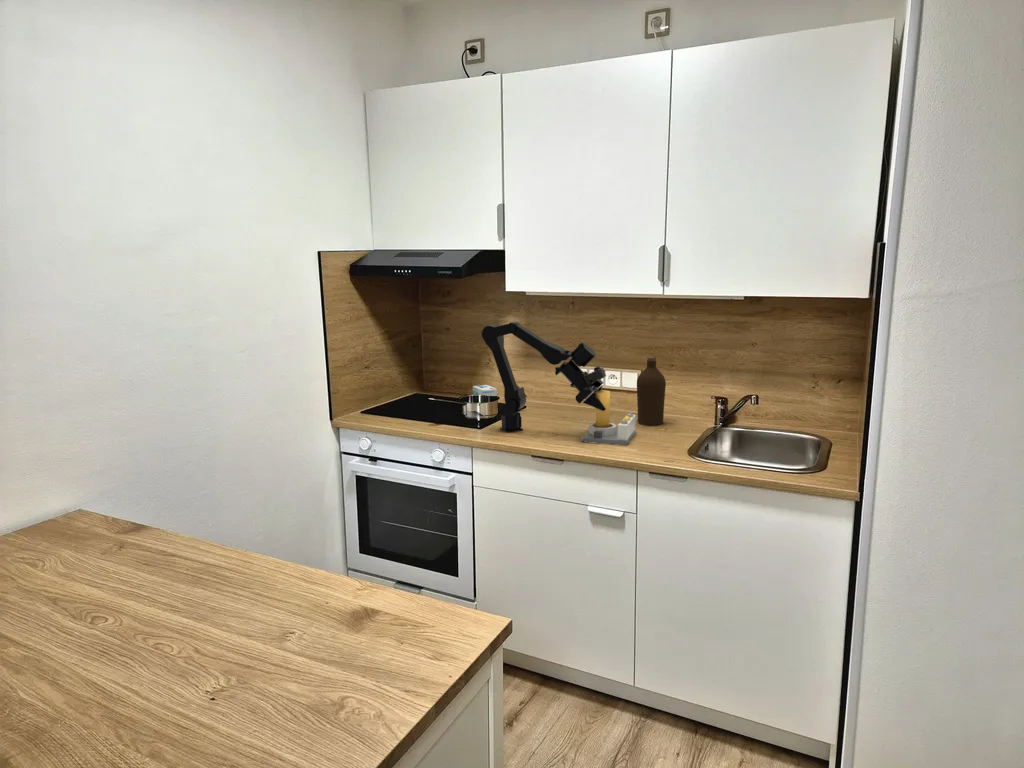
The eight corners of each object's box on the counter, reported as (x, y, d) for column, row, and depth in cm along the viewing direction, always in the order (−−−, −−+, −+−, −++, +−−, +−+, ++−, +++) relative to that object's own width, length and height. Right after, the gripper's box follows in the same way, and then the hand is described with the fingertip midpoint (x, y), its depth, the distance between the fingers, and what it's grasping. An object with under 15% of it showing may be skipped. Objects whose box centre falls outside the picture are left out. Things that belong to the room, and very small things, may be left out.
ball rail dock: (582, 442, 231) (582, 419, 230) (594, 429, 248) (594, 408, 246) (626, 445, 226) (626, 422, 224) (635, 432, 242) (636, 410, 241)
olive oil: (652, 427, 249) (653, 360, 244) (630, 422, 257) (631, 357, 252) (670, 422, 255) (672, 356, 251) (648, 418, 263) (649, 354, 259)
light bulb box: (472, 411, 281) (472, 385, 279) (487, 409, 283) (487, 384, 281) (482, 416, 271) (482, 390, 269) (498, 414, 274) (497, 388, 272)
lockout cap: (595, 428, 235) (595, 393, 232) (595, 424, 240) (595, 390, 237) (610, 428, 234) (610, 393, 232) (609, 425, 239) (609, 390, 237)
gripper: (585, 364, 225) (617, 398, 224) (597, 356, 243) (628, 388, 241) (562, 386, 230) (593, 420, 228) (576, 377, 247) (606, 408, 245)
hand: (606, 408), depth 235 cm, fingers closed on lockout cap, 5 cm apart
